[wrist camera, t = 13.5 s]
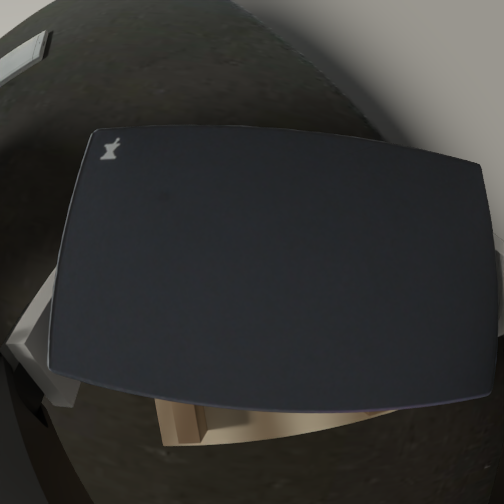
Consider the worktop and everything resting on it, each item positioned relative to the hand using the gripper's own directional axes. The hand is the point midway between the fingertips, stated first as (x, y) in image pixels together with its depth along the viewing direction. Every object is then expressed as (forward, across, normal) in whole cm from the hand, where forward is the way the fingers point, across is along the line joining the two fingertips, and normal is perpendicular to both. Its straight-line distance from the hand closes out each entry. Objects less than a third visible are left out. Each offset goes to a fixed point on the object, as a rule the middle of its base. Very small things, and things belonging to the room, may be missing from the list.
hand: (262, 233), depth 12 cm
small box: (+2, 0, -5) cm, 5 cm away
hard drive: (+30, -31, +18) cm, 47 cm away
